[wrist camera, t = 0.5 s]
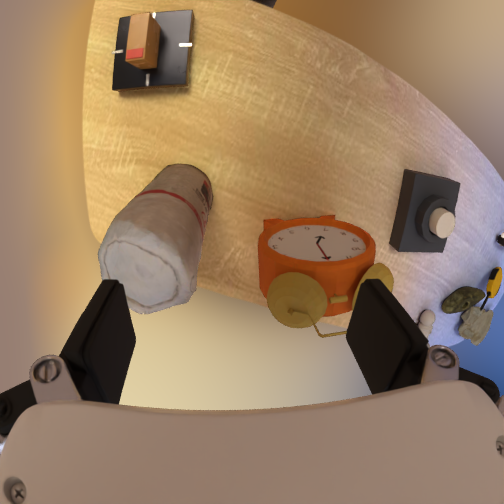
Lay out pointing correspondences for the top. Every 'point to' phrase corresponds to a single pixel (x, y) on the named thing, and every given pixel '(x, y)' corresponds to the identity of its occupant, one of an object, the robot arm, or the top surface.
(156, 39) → the knob
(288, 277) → the alarm clock
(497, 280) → the walkie talkie
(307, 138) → the top surface
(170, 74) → the panel
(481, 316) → the stone
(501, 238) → the watch
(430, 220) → the white push button
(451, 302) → the decorative stone
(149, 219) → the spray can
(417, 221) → the dark grey button base
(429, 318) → the chess piece
